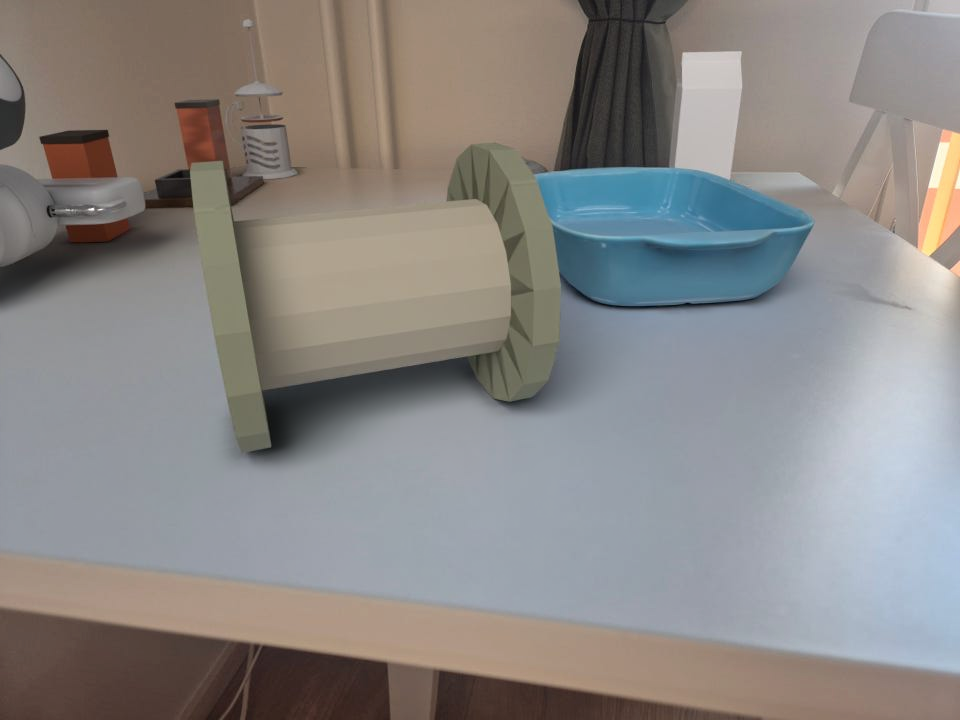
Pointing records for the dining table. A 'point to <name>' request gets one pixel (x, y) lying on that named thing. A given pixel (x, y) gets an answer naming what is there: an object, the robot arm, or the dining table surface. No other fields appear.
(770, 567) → the dining table surface
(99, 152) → the loose pad
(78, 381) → the dining table surface
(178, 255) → the dining table surface
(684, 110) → the milk carton
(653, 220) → the casserole dish
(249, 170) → the french press
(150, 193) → the pad dock
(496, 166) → the spool
